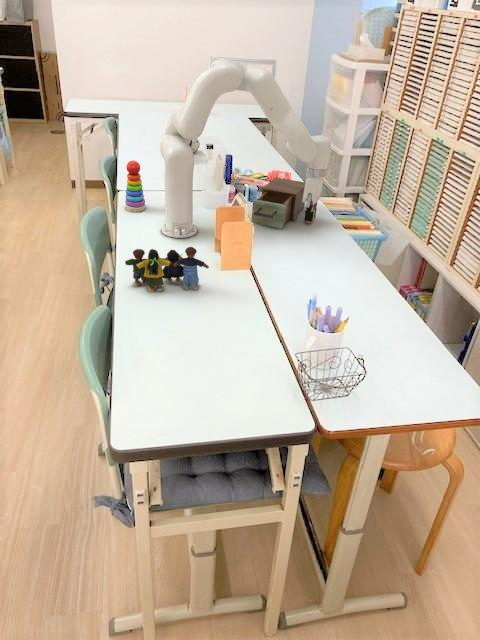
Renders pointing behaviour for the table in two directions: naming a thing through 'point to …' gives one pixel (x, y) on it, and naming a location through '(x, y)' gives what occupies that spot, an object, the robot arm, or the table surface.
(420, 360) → the table surface
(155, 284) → the doll family
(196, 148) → the paint bucket
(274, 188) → the cabinet
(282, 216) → the drawer
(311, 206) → the glue stick
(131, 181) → the stacking toy
